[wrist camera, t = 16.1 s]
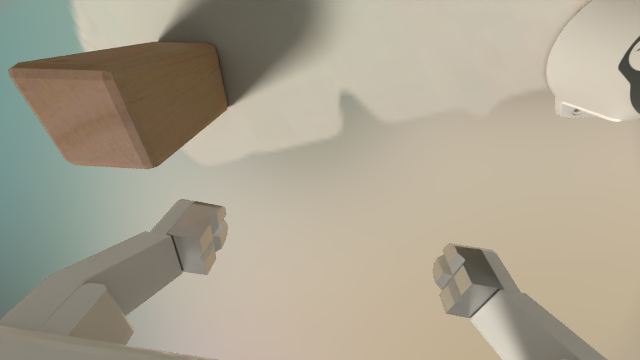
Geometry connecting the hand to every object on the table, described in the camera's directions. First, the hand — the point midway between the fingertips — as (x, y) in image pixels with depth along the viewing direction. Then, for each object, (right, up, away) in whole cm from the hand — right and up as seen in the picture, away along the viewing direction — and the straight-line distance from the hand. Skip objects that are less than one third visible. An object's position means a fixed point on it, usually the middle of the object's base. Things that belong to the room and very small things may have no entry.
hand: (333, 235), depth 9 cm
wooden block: (-21, +19, +30) cm, 41 cm away
